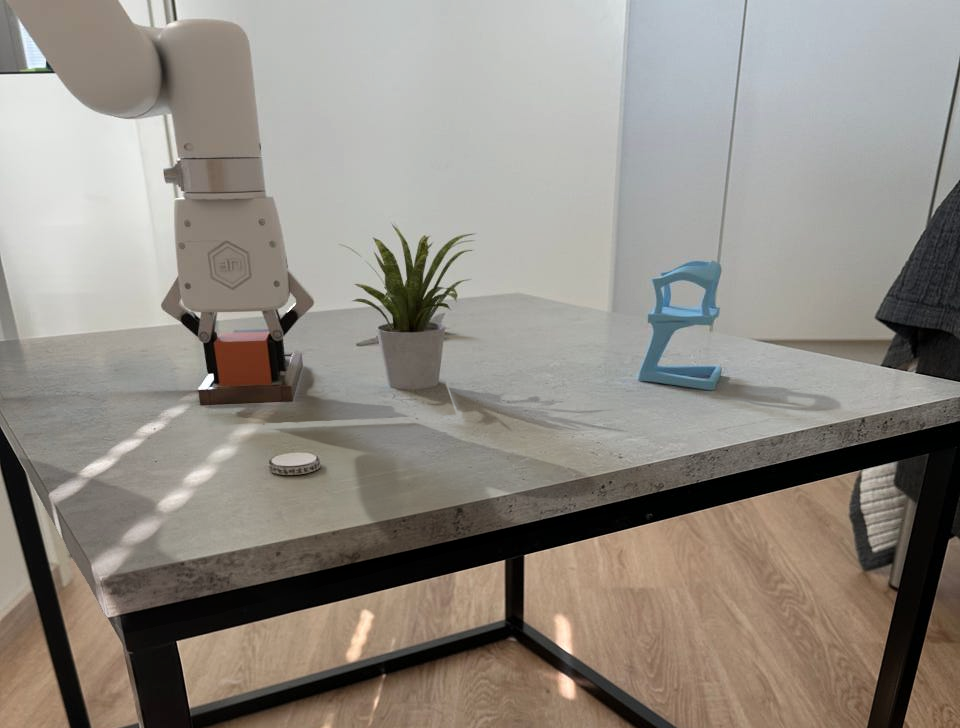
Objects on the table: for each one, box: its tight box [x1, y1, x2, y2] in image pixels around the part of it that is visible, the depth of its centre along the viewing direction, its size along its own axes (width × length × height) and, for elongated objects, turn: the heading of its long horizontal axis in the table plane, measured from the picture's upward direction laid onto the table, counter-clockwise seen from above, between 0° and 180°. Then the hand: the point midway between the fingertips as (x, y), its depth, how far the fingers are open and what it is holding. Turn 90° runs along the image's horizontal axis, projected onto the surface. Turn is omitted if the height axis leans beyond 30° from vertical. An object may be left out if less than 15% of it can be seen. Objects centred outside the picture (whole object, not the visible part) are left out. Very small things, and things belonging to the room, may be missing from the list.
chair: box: [637, 260, 723, 391], centre depth 96 cm, size 8×8×12 cm
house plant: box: [339, 222, 478, 391], centre depth 93 cm, size 14×14×16 cm
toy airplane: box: [355, 312, 457, 347], centre depth 123 cm, size 8×21×2 cm, turn 140°
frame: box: [197, 351, 304, 407], centre depth 98 cm, size 9×17×2 cm, turn 6°
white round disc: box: [268, 452, 321, 476], centre depth 73 cm, size 4×4×1 cm
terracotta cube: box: [214, 332, 273, 387], centre depth 93 cm, size 5×5×4 cm
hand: (248, 378), depth 94 cm, fingers closed on terracotta cube, 5 cm apart
